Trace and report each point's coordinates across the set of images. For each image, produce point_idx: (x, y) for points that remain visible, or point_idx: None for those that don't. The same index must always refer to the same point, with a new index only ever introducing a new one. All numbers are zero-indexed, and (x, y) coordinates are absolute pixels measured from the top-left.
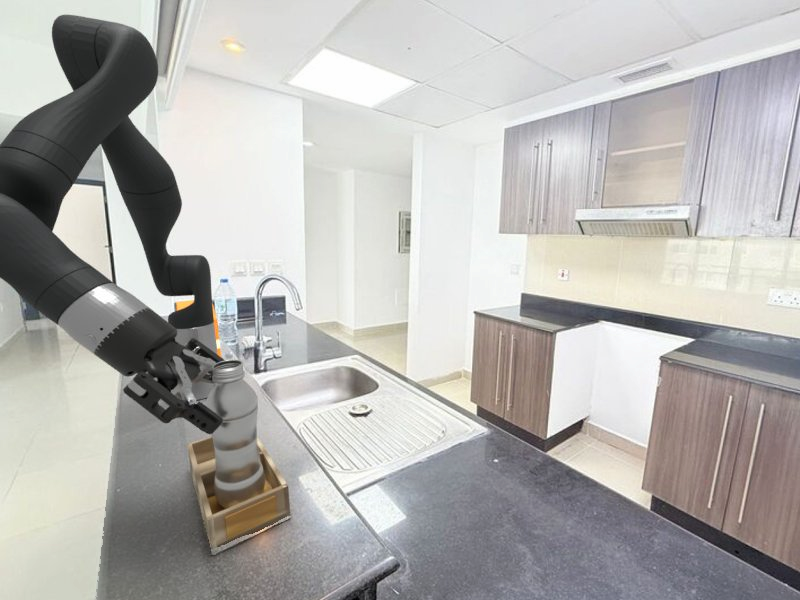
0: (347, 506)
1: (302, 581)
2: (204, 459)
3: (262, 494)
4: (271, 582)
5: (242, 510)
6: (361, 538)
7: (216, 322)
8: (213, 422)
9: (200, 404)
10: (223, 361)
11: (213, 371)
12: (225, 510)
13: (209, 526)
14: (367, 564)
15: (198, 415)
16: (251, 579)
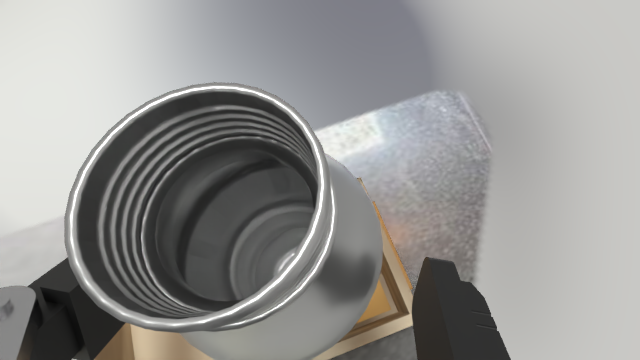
0: (353, 118)
1: (470, 182)
2: None
3: None
4: (466, 221)
5: (397, 258)
6: (417, 108)
7: None
8: (468, 287)
9: (473, 357)
10: (78, 243)
11: (266, 305)
12: (403, 288)
13: None
14: (458, 107)
15: (505, 355)
16: (457, 249)
